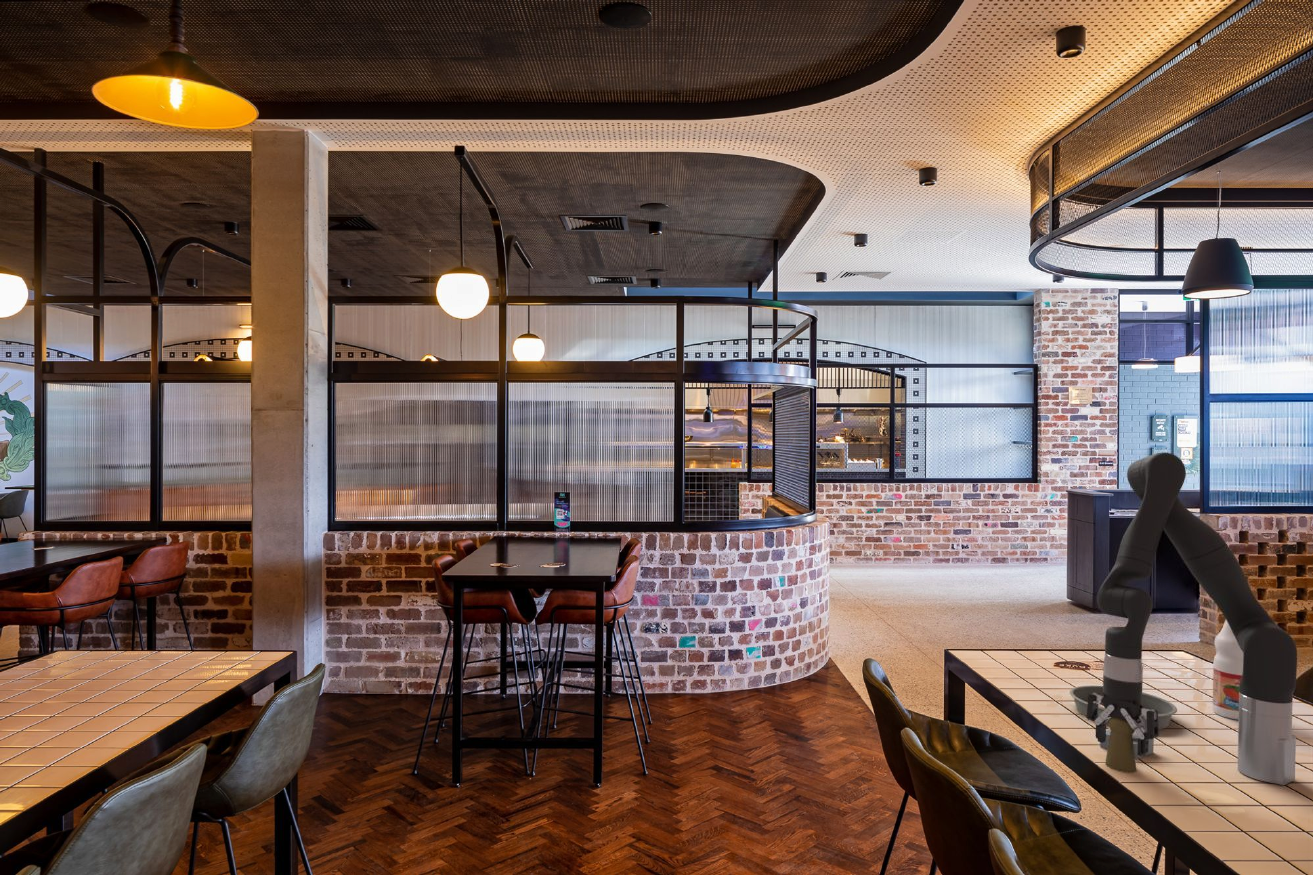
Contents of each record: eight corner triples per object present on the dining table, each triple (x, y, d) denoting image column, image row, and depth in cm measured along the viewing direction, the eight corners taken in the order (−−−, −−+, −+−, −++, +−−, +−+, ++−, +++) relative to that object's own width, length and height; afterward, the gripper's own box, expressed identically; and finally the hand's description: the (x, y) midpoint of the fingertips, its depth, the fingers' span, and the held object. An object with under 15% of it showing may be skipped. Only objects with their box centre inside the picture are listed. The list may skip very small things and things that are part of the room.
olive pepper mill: (1107, 758, 175) (1108, 710, 175) (1138, 766, 171) (1139, 717, 171) (1102, 767, 170) (1103, 717, 170) (1134, 775, 166) (1135, 724, 167)
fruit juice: (1237, 709, 212) (1239, 608, 212) (1265, 721, 202) (1267, 615, 203) (1203, 708, 212) (1206, 607, 212) (1229, 721, 202) (1231, 615, 203)
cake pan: (1176, 713, 208) (1177, 696, 208) (1176, 740, 188) (1177, 722, 188) (1074, 694, 222) (1074, 679, 222) (1064, 718, 202) (1064, 701, 202)
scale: (1153, 752, 179) (1153, 732, 179) (1134, 759, 175) (1135, 739, 175) (1117, 740, 186) (1118, 721, 186) (1099, 747, 182) (1099, 727, 182)
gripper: (1165, 681, 167) (1164, 756, 167) (1099, 664, 179) (1097, 734, 179) (1148, 686, 163) (1146, 763, 163) (1081, 669, 175) (1079, 740, 175)
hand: (1121, 748), depth 171 cm, fingers open, 8 cm apart
